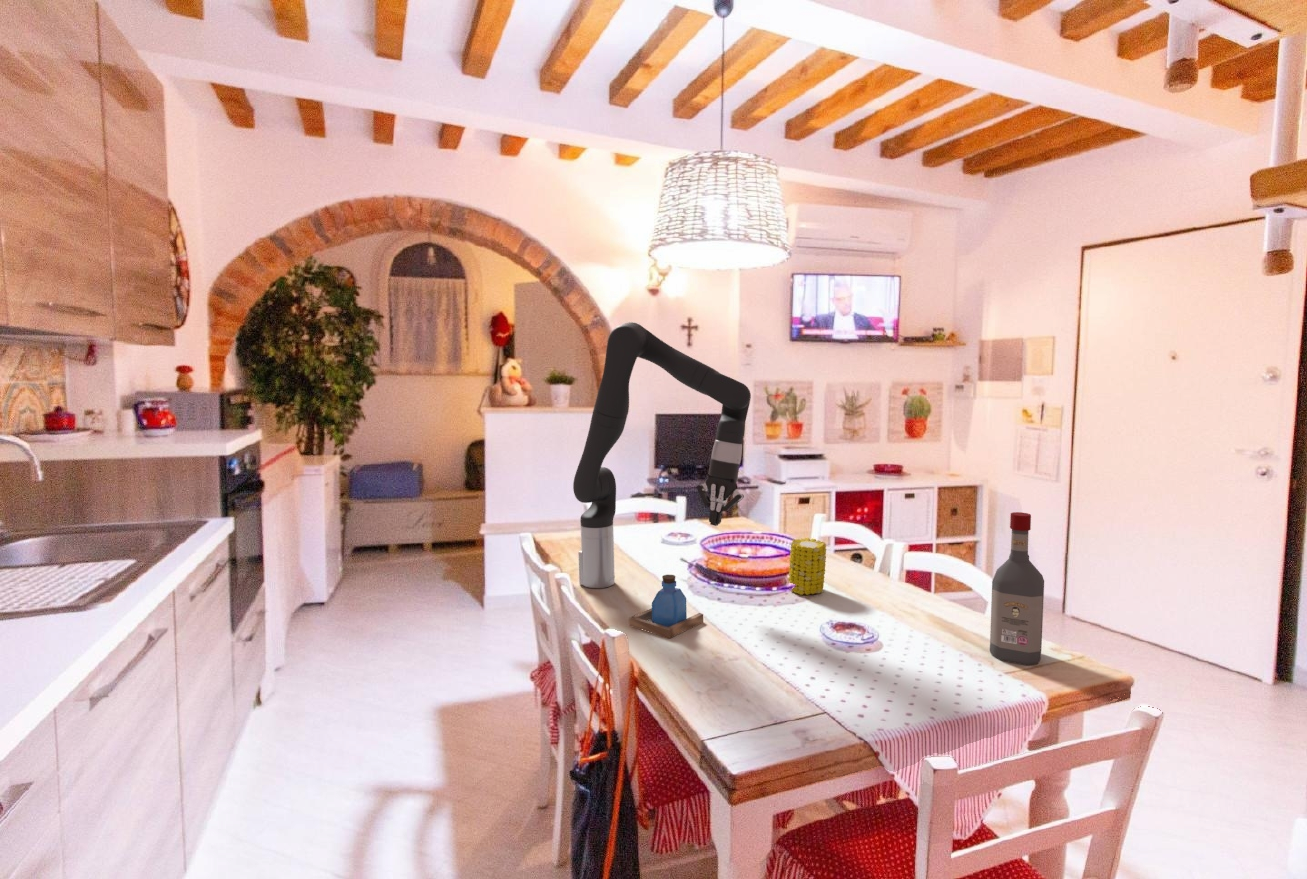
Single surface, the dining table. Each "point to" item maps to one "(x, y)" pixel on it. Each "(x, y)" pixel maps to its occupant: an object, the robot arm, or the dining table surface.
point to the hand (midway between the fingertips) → (714, 525)
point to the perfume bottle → (669, 603)
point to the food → (807, 566)
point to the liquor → (1017, 601)
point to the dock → (668, 632)
